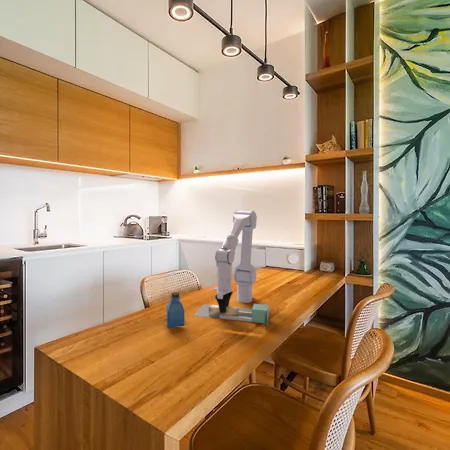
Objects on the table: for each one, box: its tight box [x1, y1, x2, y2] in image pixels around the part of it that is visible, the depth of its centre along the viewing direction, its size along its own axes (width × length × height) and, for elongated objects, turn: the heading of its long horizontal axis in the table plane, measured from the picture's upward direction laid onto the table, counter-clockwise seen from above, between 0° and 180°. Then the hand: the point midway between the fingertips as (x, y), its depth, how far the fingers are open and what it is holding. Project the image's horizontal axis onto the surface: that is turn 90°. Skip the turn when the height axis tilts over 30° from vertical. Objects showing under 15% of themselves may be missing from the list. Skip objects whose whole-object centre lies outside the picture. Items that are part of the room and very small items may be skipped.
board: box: [193, 303, 271, 327], centre depth 121 cm, size 14×30×6 cm, turn 77°
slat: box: [209, 304, 240, 316], centre depth 119 cm, size 12×3×4 cm, turn 77°
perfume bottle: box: [166, 291, 185, 328], centre depth 112 cm, size 6×6×12 cm
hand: (223, 310), depth 119 cm, fingers open, 4 cm apart
